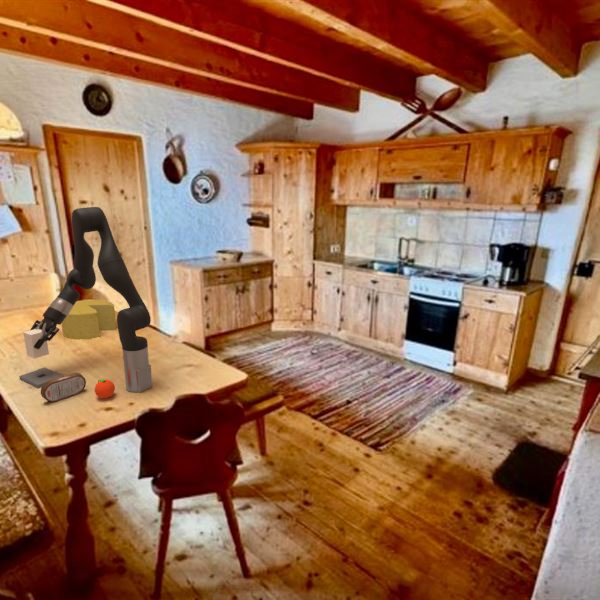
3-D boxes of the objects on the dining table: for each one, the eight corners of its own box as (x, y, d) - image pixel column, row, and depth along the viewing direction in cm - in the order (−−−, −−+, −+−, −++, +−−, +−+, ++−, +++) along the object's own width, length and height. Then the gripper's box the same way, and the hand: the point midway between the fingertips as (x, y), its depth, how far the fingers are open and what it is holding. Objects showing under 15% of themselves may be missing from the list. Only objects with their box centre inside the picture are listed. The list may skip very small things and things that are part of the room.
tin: (84, 388, 155) (82, 369, 153) (88, 391, 153) (85, 371, 151) (41, 403, 144) (38, 382, 142) (45, 406, 142) (41, 385, 140)
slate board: (64, 378, 162) (63, 375, 162) (38, 388, 154) (38, 385, 153) (45, 370, 169) (44, 367, 168) (19, 379, 160) (19, 376, 160)
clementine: (90, 397, 149) (88, 380, 147) (107, 390, 154) (105, 373, 152) (102, 403, 145) (100, 386, 143) (119, 396, 150) (117, 379, 148)
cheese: (118, 335, 212) (116, 308, 208) (62, 342, 200) (58, 314, 196) (114, 321, 234) (111, 297, 230) (63, 327, 221) (60, 301, 217)
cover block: (49, 354, 160) (45, 331, 157) (34, 358, 155) (30, 335, 152) (41, 351, 162) (38, 328, 159) (27, 355, 158) (23, 332, 155)
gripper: (41, 303, 163) (13, 338, 156) (61, 309, 156) (33, 346, 150) (55, 312, 169) (30, 346, 162) (75, 318, 162) (49, 354, 155)
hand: (31, 346), depth 156 cm, fingers closed on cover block, 5 cm apart
